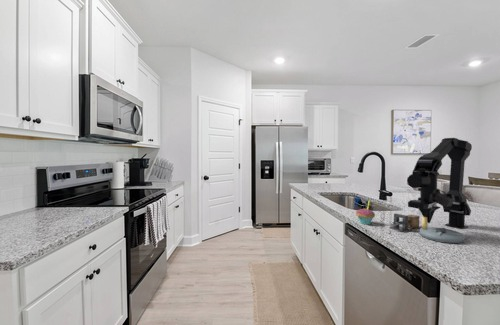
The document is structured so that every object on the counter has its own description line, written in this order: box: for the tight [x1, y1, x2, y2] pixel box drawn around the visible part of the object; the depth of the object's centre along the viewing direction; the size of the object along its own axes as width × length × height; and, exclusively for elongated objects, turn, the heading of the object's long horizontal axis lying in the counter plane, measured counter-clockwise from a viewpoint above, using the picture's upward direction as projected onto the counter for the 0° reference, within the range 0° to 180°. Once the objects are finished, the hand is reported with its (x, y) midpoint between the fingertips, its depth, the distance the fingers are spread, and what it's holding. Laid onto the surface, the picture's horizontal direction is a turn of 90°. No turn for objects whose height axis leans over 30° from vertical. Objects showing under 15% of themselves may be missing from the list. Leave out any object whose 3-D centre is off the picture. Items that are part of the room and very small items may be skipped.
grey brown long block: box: [390, 214, 420, 229], centre depth 112 cm, size 16×4×5 cm, turn 115°
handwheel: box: [419, 216, 465, 244], centre depth 100 cm, size 14×14×7 cm
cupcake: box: [355, 199, 376, 226], centre depth 121 cm, size 9×8×12 cm
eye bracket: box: [389, 213, 413, 233], centre depth 111 cm, size 5×7×7 cm
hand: (428, 222), depth 105 cm, fingers closed
